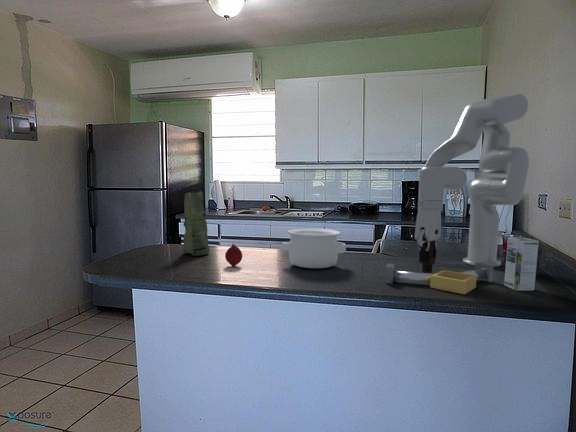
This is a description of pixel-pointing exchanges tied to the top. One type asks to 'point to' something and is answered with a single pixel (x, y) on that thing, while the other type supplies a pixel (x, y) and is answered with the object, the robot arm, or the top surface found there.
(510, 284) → the syrup box
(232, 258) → the onion
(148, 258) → the top surface
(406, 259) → the top surface
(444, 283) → the yoke socket
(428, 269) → the bolt
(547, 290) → the top surface
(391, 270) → the shaft
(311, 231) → the pot
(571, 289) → the top surface
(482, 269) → the shaft
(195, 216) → the pouch
